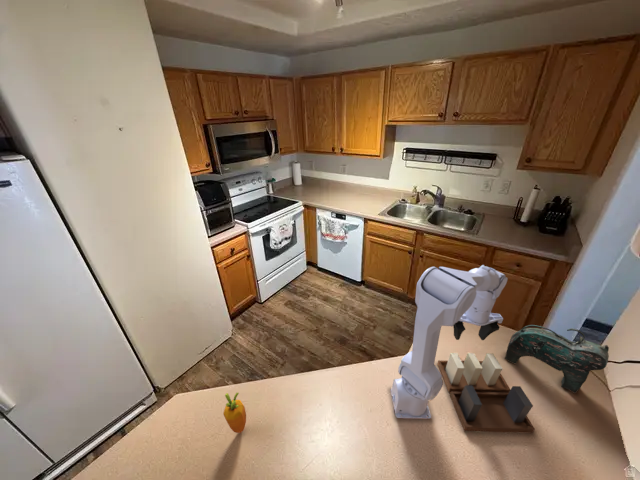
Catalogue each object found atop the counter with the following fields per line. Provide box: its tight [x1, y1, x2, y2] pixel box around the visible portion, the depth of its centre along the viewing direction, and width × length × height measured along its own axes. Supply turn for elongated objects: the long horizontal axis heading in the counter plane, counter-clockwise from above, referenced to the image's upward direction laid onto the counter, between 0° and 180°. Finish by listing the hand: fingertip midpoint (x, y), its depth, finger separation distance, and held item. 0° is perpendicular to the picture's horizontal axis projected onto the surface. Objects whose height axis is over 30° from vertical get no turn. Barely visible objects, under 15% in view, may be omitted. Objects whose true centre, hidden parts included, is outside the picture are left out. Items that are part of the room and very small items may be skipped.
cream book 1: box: [445, 352, 465, 385], centre depth 78 cm, size 2×5×8 cm, turn 178°
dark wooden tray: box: [449, 392, 536, 434], centre depth 70 cm, size 17×9×2 cm, turn 88°
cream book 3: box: [481, 352, 504, 386], centre depth 77 cm, size 2×5×8 cm, turn 178°
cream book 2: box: [463, 352, 483, 385], centre depth 77 cm, size 2×5×8 cm, turn 178°
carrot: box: [223, 392, 247, 434], centre depth 65 cm, size 5×5×15 cm
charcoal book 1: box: [458, 385, 482, 422], centre depth 69 cm, size 2×5×8 cm, turn 178°
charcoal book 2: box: [503, 385, 534, 423], centre depth 68 cm, size 2×5×8 cm, turn 178°
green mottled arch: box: [504, 324, 610, 394], centre depth 75 cm, size 20×6×20 cm, turn 49°
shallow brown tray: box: [436, 359, 511, 393], centre depth 79 cm, size 17×9×2 cm, turn 88°
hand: (468, 337), depth 81 cm, fingers open, 7 cm apart
